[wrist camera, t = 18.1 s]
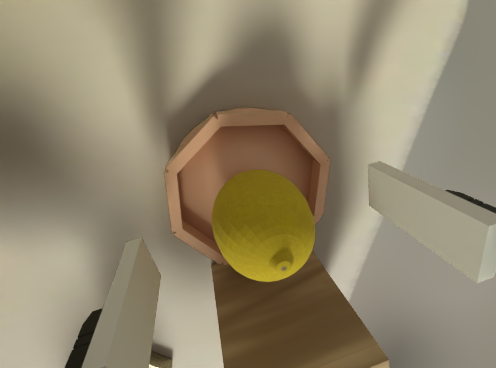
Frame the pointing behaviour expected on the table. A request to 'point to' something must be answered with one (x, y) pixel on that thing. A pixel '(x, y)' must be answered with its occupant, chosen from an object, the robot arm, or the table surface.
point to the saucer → (238, 167)
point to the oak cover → (290, 322)
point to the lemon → (263, 225)
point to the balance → (159, 361)
